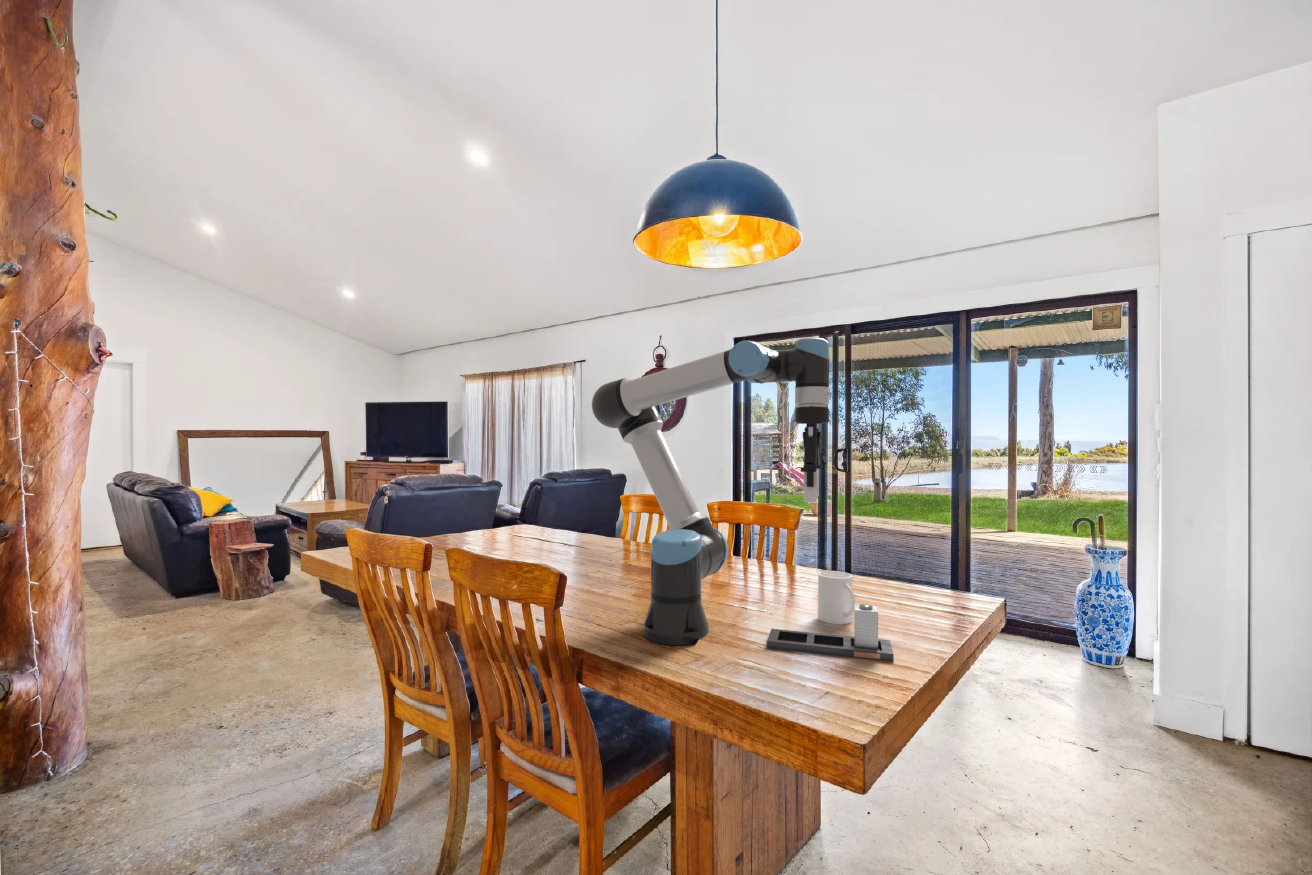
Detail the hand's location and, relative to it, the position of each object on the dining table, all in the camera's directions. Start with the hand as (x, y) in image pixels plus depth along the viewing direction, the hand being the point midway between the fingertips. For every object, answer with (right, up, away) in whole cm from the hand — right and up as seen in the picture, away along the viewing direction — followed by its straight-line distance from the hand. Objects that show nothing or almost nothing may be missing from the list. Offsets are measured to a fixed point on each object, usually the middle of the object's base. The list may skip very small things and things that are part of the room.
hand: (811, 499), depth 134 cm
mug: (+9, -32, +9) cm, 34 cm away
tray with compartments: (+1, -32, -10) cm, 33 cm away
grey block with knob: (+8, -31, -12) cm, 34 cm away
